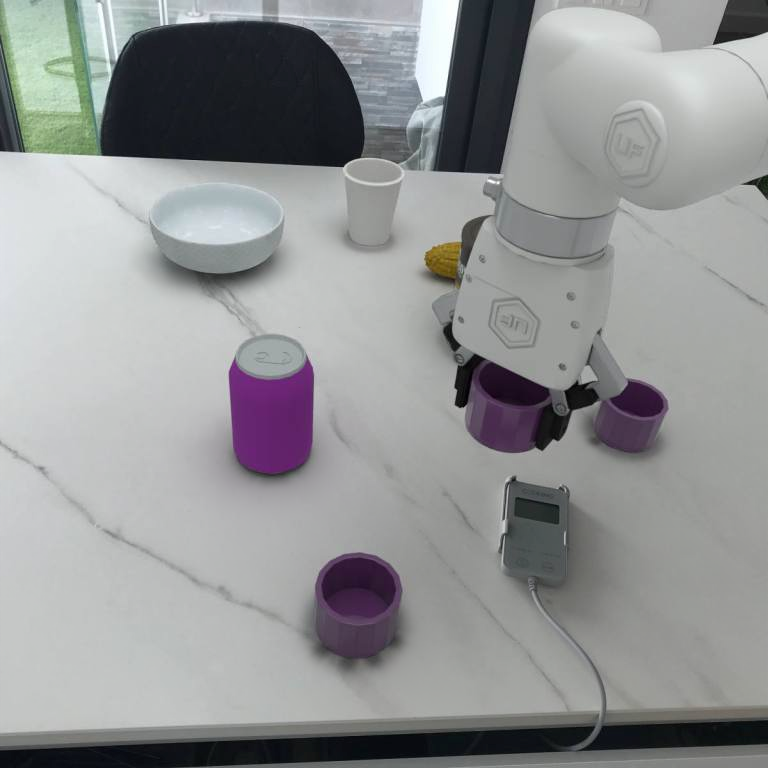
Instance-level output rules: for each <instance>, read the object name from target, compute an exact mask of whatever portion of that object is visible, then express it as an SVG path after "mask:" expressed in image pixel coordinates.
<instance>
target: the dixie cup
mask: <svg viewBox="0 0 768 768" xmlns="http://www.w3.org/2000/svg"><path fill="white" fill-rule="evenodd" d="M342 174H343V175H344V182H345V183H344V184H345V195H346V207H347V208H346V209H347V220H348V232H349V234H348V235H349V239H350V240H352V242H354V243H356V244H358V245H360V246H361V245H362V246H364V247H365V246H366V247H377V246H382V245H384V244H386V243H387V242H388V241H389V240H390V236H391V230H392V227H393V222H394V218H395V214H396V209H397V204H398V200H399V195H400V192H401V186H402V182H403V180H404V178H405V177H406V176H405V175H406V173H405V171H404V169H403V168H402V167H401V165H399V164H397V163H395V162H393V161H391V160H388V159H384V158H377V157H361V158H356V159H353V160H351V161H348V162H347V163H346V164H344V166H343V168H342Z"/></svg>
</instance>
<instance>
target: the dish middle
mask: <svg viewBox="0 0 768 768" xmlns="http://www.w3.org/2000/svg"><path fill="white" fill-rule="evenodd" d="M551 403H552V402H551V397H550V393H549V388H547V387H544V386H542V385H540V384H537V383H535V382H533V381H531V380H529V379H527V378H525V377H523V376H521V375H518V374H516V373H514V372H512V371H510V370H508V369H506V368H504V367H502V366H500V365H498V364H496V363H494V362H492V361H490V360H487V359H486V360H484V361H482V362H481V363H480V364H479V365H478V366H477V367H476V368H475V369H474V370H473V376H472V381H471V386H470V391H469V397H468V402H467V405H466V406H465V407H466V408H465V414H464V425H465V428H466V430H467V432H468V433H469V435H470V436H471V437H472V438H473V440H474V441H476V442H477V443H478V444H480V445H482V446H483V447H485V448H488V449H490V450H493V451H496V452H500V453H505V454H521V453H527V452H530V451H532V450H534V449H537V448H536V446H535V442H536V438H537V435H538V431H539V427H540V424H541V420H542V417H543V413H544V411H545V409H546V408H547V407H548V406H549V405H550V404H551Z"/></svg>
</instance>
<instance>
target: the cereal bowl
mask: <svg viewBox="0 0 768 768" xmlns="http://www.w3.org/2000/svg"><path fill="white" fill-rule="evenodd" d="M148 221H149V222H148V223H149V225H150V231H151V235H152V238H153V240H154V242H155V244H156V246H157V248H158V249H159V250H160V252H162V253H163V255H164V256H165V257H166V258H168V259H169V260H171V261H172V262H174V263H175V264H177V265H179V266H180V267H183V268H185V269H189V270H192V271H195V272H200V273H206V274H220V275H221V274H231V273H238V272H242V271H245V270H248V269H252V268H253V267H257V266H258V265H260V264H261V263H264V262H265V261H266V260H267V259H268V258H269V257H271V256H272V255H273V253H275V251H276V250H277V248H278V247H279V245H280V243H281V240H282V238H283V233H284V227H285V210H284V208H283V206H282V205H281V203H280V202H279V201H278V200H277V199H276V198H275V197H274V196H272V195H270V193H267V192H265V191H263V190H260V189H258V188H255V187H252V186H249V185H244V184H239V183H233V182H232V183H231V182H200V183H193V184H188V185H185V186H180V187H177V188H174V189H172V190H170V191H168V192H166V193H164V194H162V195H161V196H159V197H158V198H156V200H154V202H153V203H152V204H151V206H150V208H149V211H148Z"/></svg>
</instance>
